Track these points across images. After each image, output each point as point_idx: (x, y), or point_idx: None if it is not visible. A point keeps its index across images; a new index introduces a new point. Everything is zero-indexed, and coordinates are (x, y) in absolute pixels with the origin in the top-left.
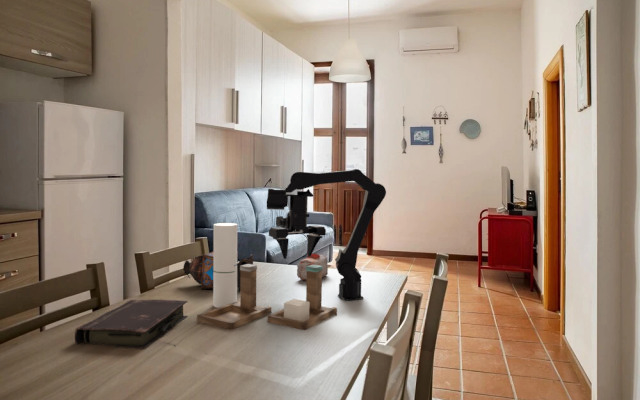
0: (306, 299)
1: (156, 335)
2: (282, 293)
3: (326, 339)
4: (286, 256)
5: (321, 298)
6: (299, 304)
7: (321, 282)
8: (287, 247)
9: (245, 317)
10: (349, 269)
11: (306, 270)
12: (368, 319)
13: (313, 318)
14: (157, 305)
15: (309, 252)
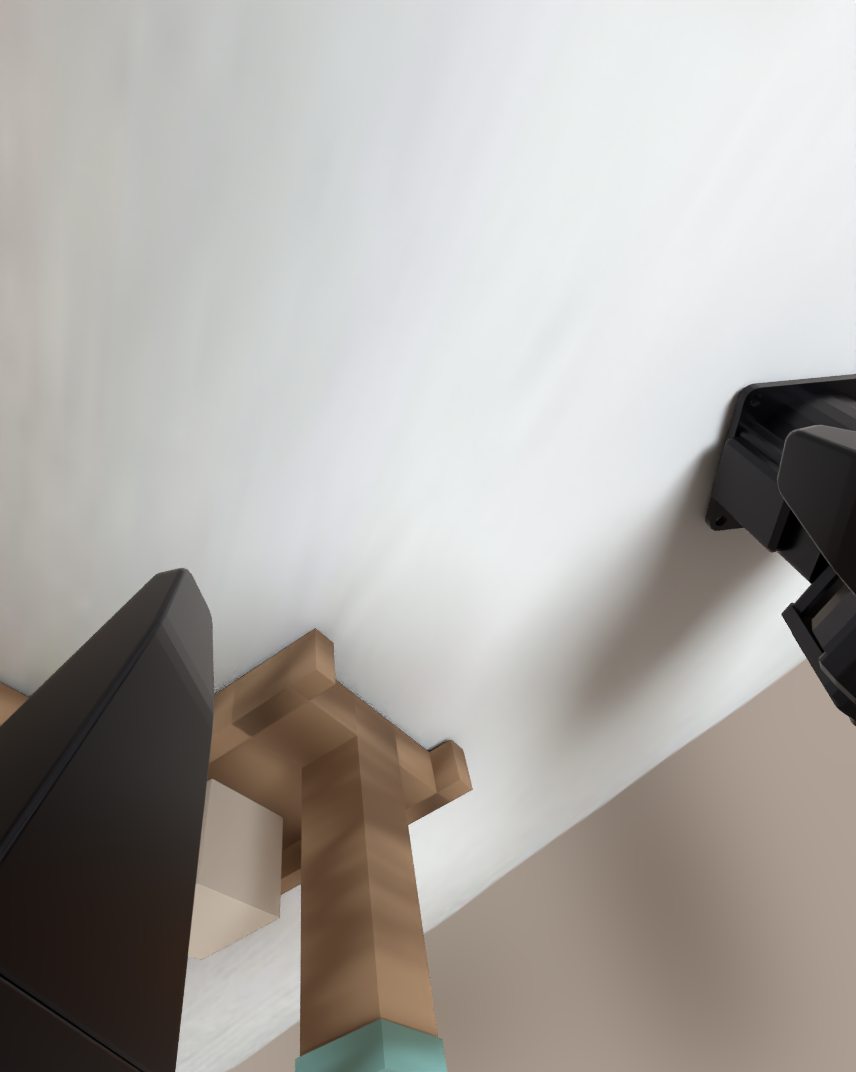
0: (303, 814)
1: None
2: (285, 41)
3: (296, 911)
4: (204, 675)
5: (405, 810)
6: (206, 945)
7: (418, 926)
8: (173, 966)
9: None
10: None
11: (297, 1063)
12: (576, 784)
13: (281, 889)
14: None
15: (839, 538)
